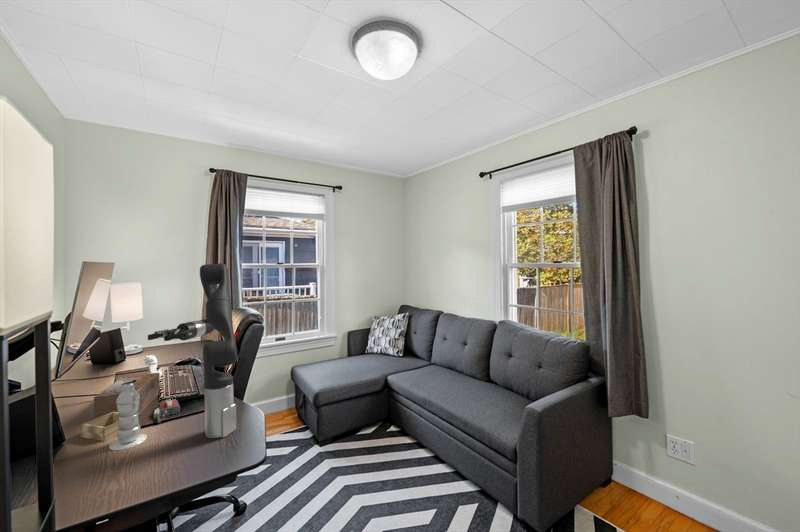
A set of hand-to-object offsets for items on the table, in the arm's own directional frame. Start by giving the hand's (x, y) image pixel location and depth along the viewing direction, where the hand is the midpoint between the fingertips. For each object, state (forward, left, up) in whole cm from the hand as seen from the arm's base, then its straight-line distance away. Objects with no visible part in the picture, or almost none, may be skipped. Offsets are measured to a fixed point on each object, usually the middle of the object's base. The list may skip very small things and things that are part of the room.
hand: (156, 338), depth 132 cm
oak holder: (+7, +13, -32) cm, 35 cm away
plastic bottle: (-8, +17, -32) cm, 37 cm away
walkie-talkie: (0, -4, -33) cm, 33 cm away
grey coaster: (-8, +17, -32) cm, 37 cm away
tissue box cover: (+23, -6, -33) cm, 40 cm away
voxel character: (+36, -26, -32) cm, 55 cm away
